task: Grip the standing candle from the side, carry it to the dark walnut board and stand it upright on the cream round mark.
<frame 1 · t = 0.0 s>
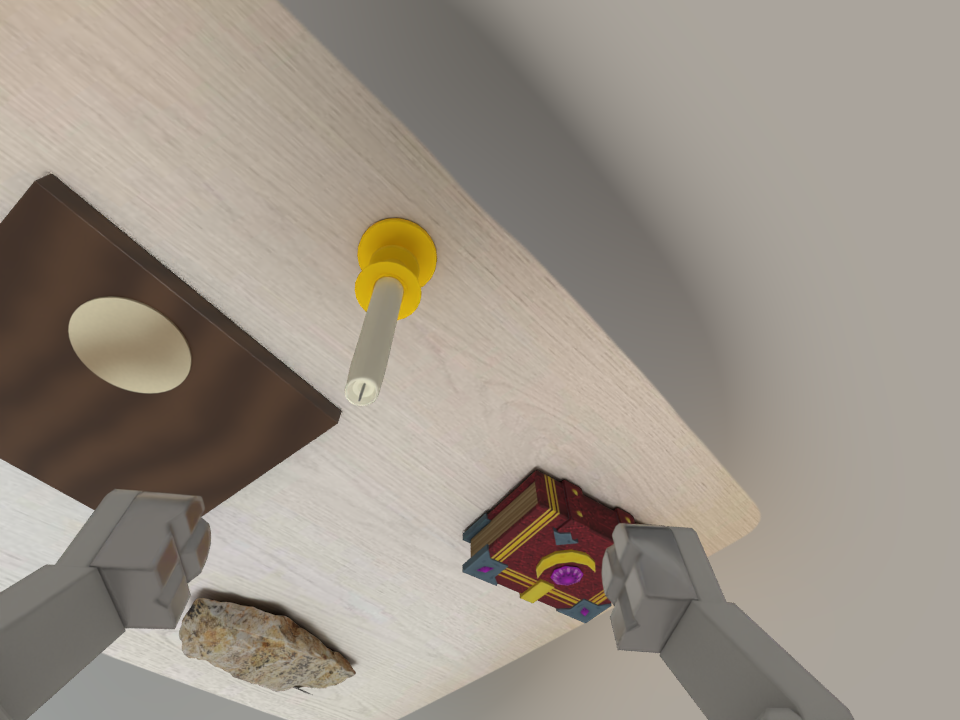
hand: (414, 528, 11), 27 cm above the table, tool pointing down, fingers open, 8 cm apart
decorative book: (562, 529, 52), on the table
stone: (278, 630, 62), on the table
board: (121, 393, 42), on the table
candle: (398, 254, 36), on the table
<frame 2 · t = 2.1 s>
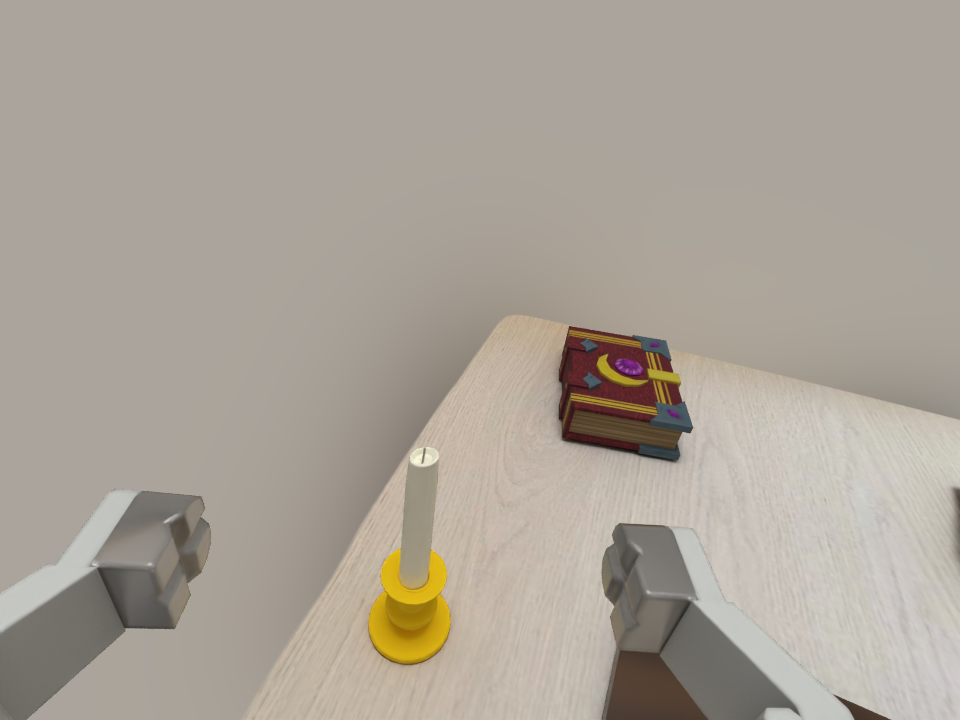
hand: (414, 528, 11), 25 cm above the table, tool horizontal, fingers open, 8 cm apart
decorative book: (610, 401, 57), on the table
candle: (409, 624, 35), on the table
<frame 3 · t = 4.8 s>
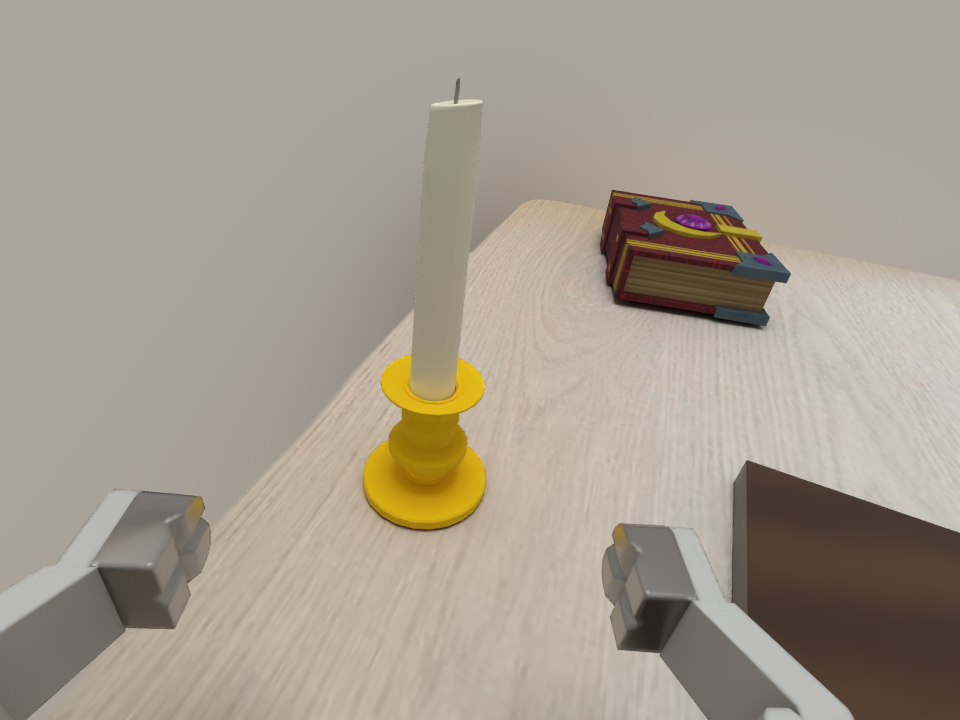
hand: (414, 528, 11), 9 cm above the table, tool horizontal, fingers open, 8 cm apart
decorative book: (667, 274, 46), on the table
candle: (424, 484, 23), on the table
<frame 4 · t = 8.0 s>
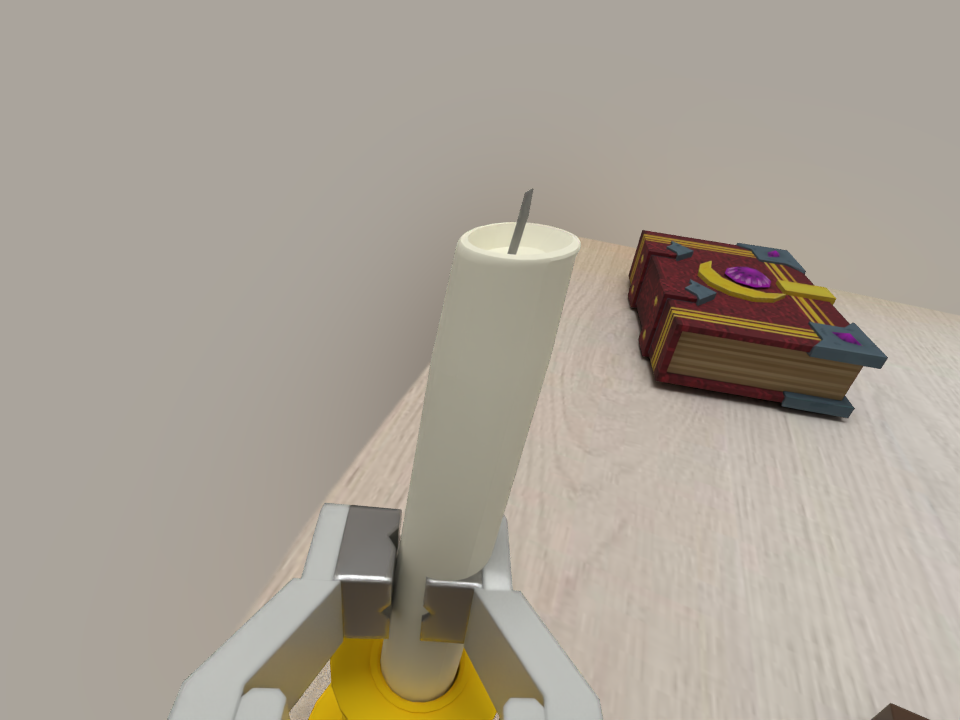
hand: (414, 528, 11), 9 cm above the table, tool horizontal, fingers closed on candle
decorative book: (712, 337, 37), on the table
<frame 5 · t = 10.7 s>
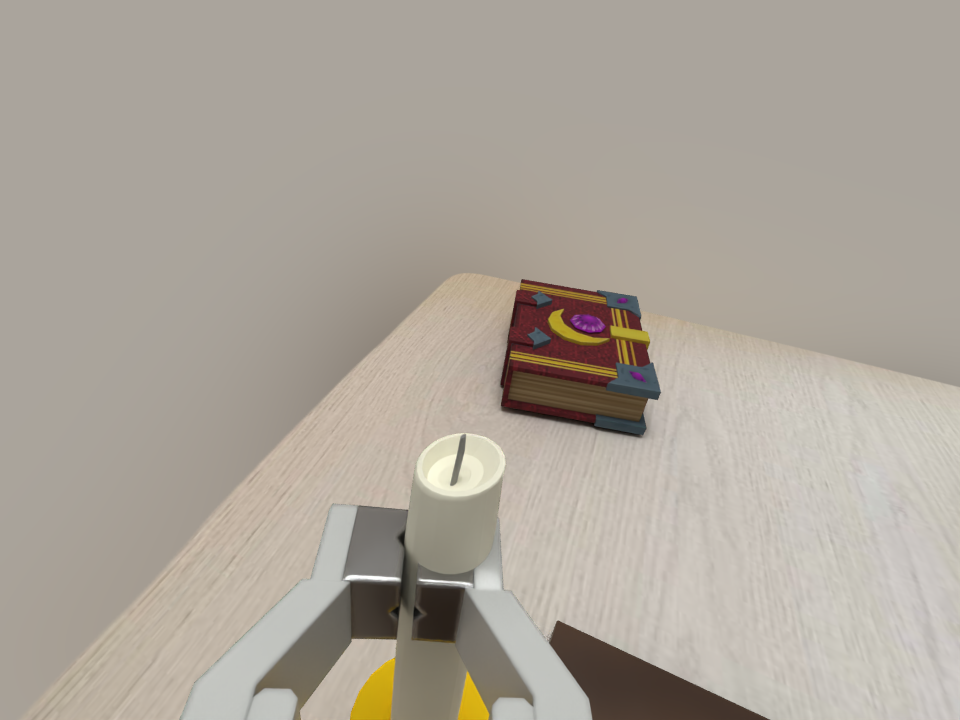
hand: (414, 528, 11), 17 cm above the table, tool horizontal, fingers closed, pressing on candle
decorative book: (567, 367, 48), on the table
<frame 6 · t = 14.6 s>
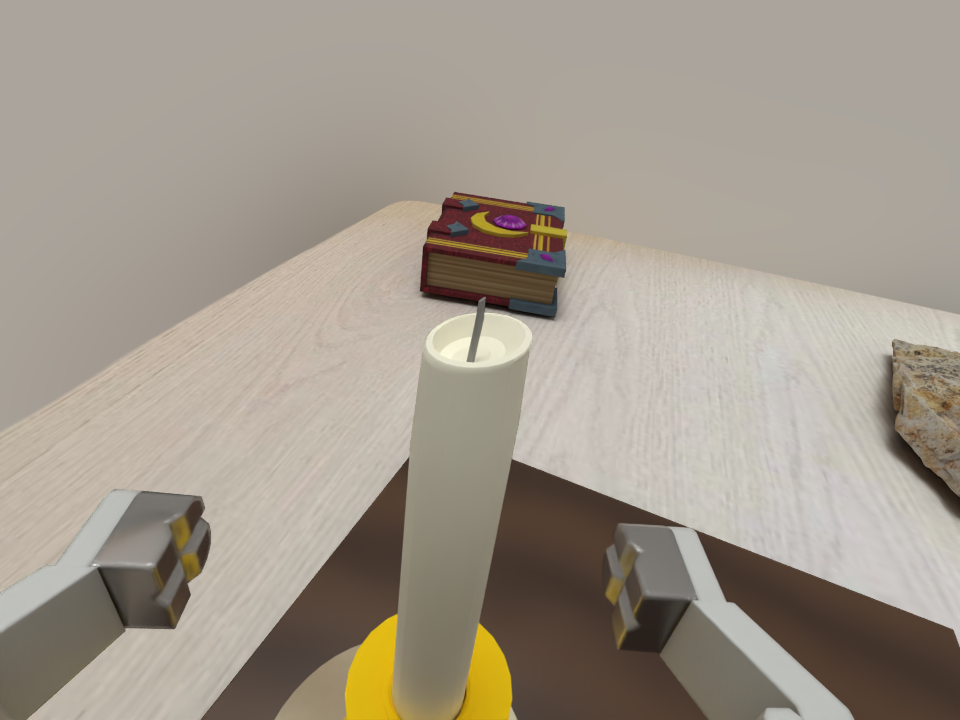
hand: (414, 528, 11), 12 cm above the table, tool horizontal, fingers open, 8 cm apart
decorative book: (495, 270, 50), on the table
stone: (950, 440, 36), on the table
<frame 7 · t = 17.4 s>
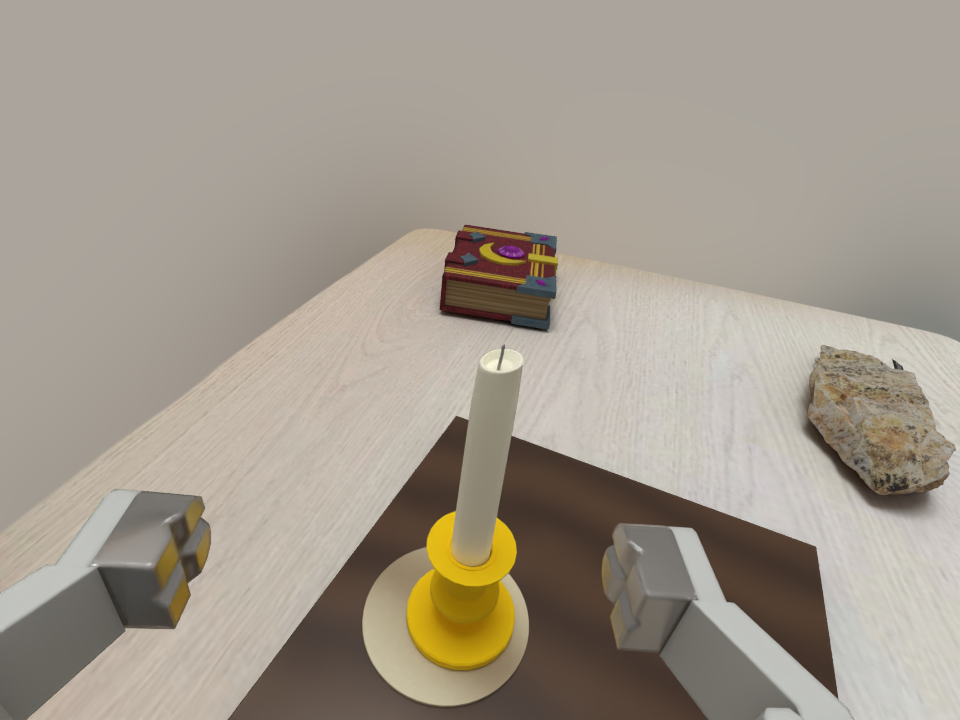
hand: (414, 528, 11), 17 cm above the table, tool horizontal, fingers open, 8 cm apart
decorative book: (499, 290, 60), on the table
stone: (855, 424, 46), on the table
board: (569, 651, 27), on the table
candle: (460, 617, 26), point 2 cm above the table, touching board
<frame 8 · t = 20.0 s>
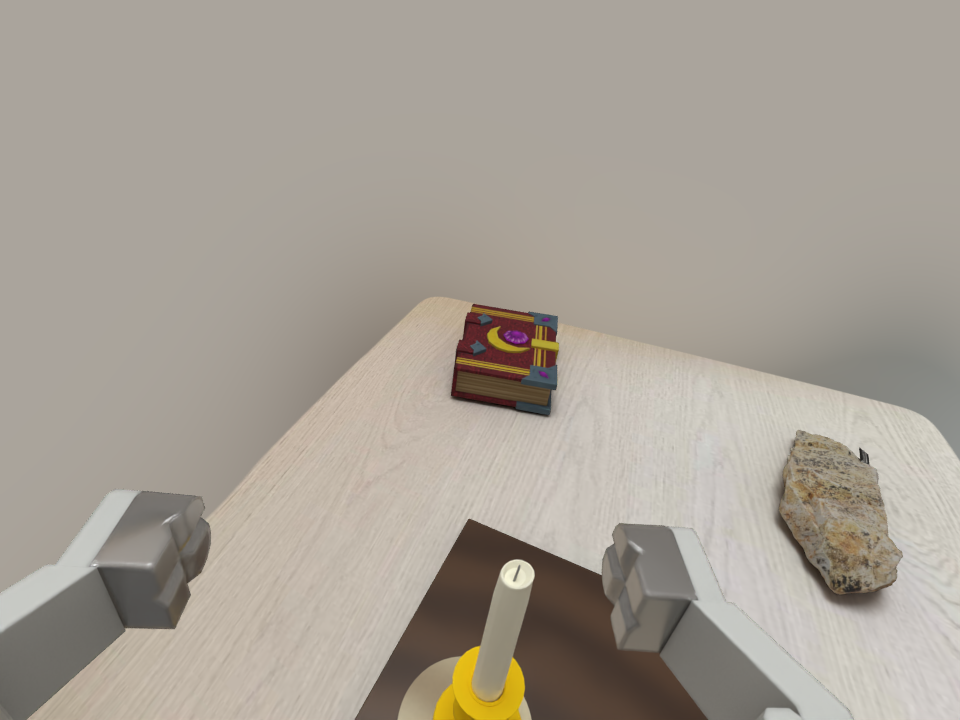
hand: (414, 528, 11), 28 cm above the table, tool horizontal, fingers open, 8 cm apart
decorative book: (504, 368, 65), on the table
stone: (823, 513, 52), on the table
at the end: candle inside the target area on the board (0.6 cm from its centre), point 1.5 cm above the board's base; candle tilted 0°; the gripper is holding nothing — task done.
